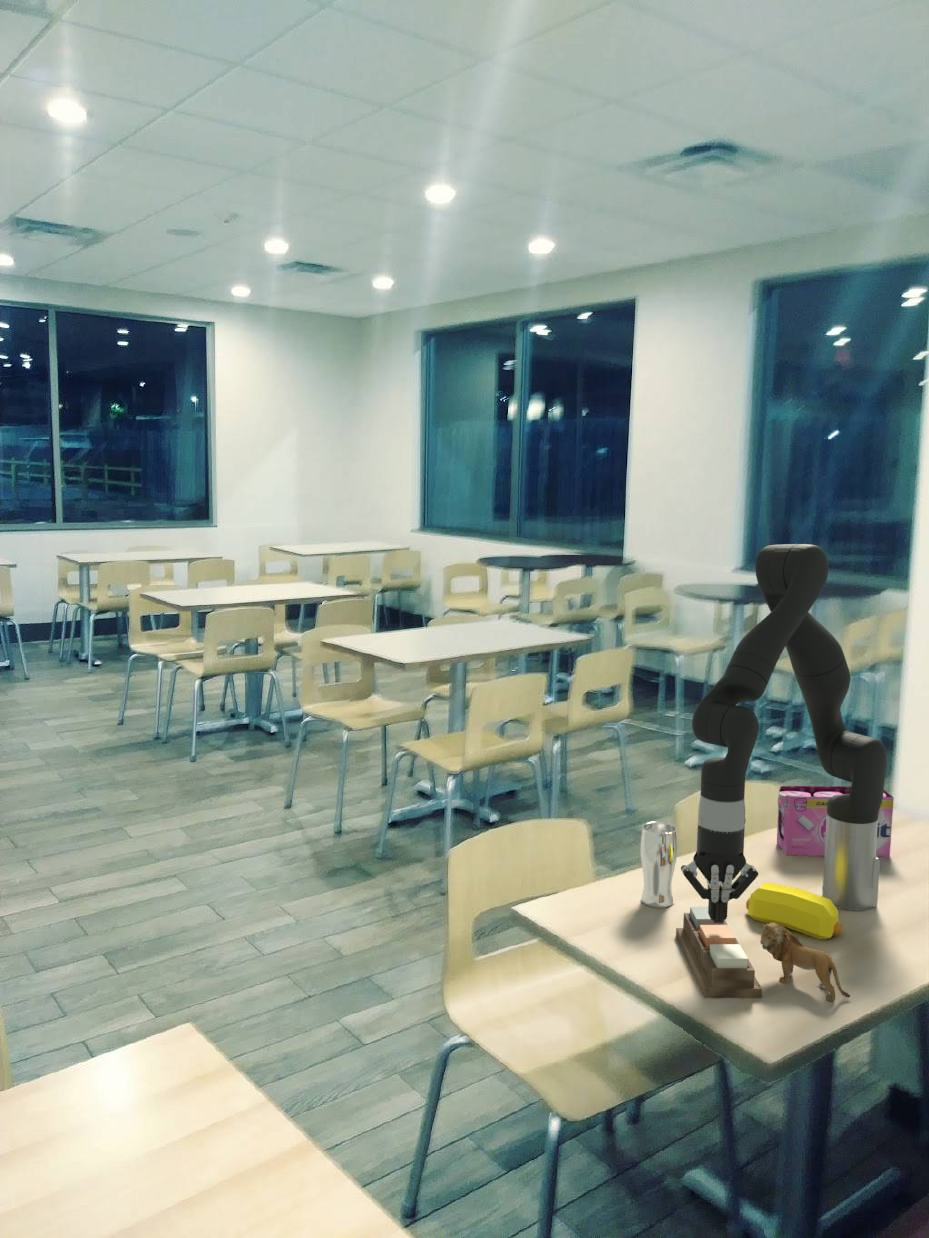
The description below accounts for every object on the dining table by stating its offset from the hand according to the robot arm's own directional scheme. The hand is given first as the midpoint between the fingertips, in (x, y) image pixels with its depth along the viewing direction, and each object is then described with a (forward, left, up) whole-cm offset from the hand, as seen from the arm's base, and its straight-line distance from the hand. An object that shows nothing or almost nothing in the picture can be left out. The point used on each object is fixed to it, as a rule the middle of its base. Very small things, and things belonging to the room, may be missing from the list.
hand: (717, 920), depth 163 cm
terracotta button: (0, 0, -5) cm, 5 cm away
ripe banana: (-18, -15, -8) cm, 25 cm away
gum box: (-39, -52, -8) cm, 65 cm away
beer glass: (+5, -25, -8) cm, 27 cm away
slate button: (0, -7, -5) cm, 8 cm away
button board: (0, 0, -8) cm, 8 cm away
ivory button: (0, +7, -5) cm, 8 cm away
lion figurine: (-12, +7, -8) cm, 16 cm away
